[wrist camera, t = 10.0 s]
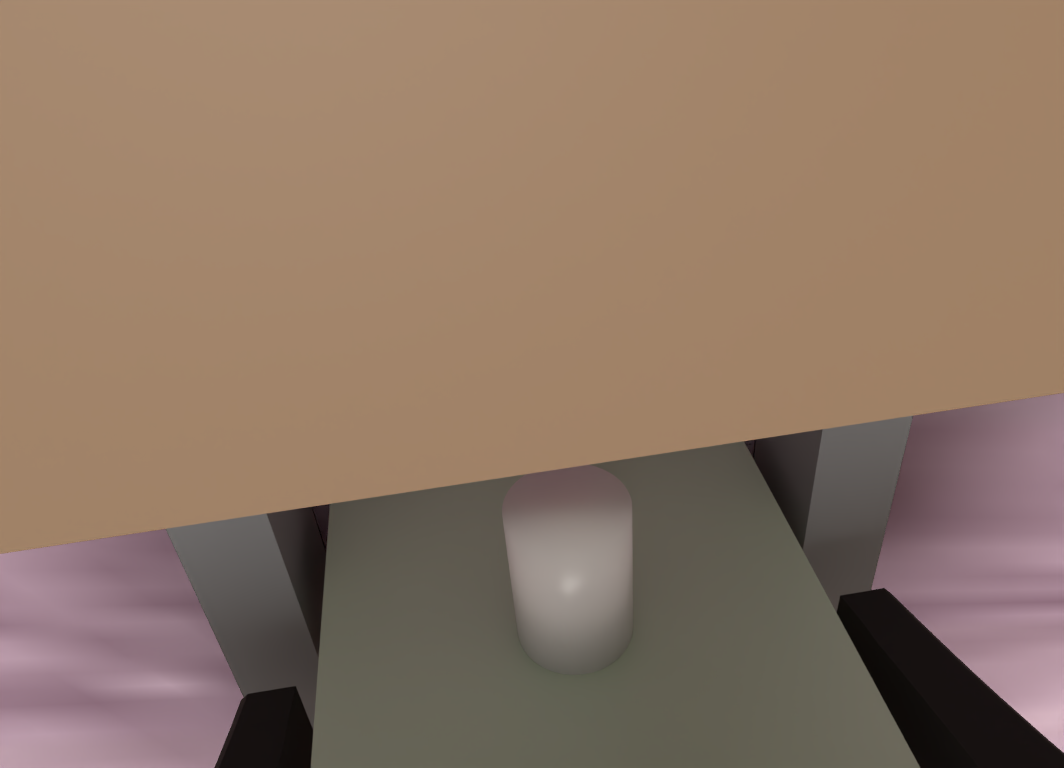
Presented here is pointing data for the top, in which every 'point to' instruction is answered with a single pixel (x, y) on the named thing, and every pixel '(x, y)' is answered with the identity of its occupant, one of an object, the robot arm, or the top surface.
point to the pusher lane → (503, 261)
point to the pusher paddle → (589, 628)
